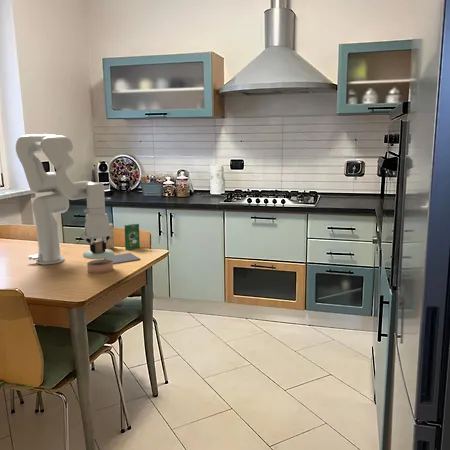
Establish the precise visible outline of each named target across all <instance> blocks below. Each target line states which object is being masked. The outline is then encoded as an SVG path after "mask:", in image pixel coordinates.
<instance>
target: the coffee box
mask: <svg viewBox="0 0 450 450" xmlns="http://www.w3.org/2000/svg"><path fill="white" fill-rule="evenodd" d="M140 242H141V241H140V224H139V223H135V222H134V223H131V224H126V225H124V246H125V251H131V249H132V250H134V249H139V248H140V246H141V245H140Z"/></svg>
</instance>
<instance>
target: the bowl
mask: <svg viewBox="0 0 450 450" xmlns="http://www.w3.org/2000/svg"><path fill="white" fill-rule="evenodd" d="M86 265H87V272H88V273H89V274H94V275H95V274H107V273H110V272H112V271H113V270H114V264H113V261H112V260H109V259H92V260H89V261H88V262H86Z"/></svg>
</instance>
